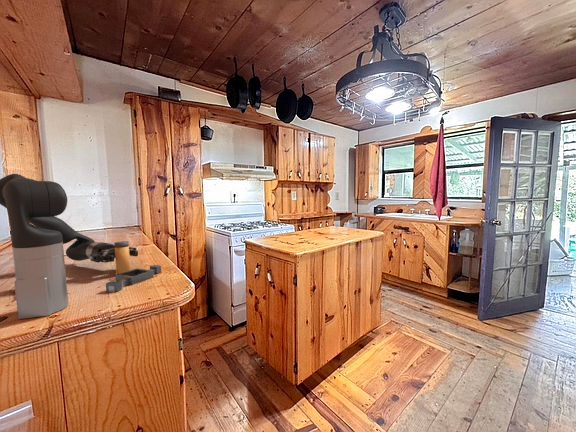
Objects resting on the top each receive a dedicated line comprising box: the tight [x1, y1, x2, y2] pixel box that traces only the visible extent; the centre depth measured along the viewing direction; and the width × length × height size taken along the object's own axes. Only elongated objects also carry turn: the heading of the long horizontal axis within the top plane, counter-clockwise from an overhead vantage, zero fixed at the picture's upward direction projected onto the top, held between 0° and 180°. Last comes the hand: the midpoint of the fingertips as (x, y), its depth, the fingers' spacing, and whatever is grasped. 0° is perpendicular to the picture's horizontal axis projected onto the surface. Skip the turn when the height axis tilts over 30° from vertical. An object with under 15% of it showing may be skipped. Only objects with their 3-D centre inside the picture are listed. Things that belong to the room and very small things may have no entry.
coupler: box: [113, 240, 131, 275], centre depth 96 cm, size 4×4×12 cm
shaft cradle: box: [105, 264, 162, 293], centre depth 88 cm, size 20×10×3 cm, turn 157°
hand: (125, 256), depth 95 cm, fingers open, 8 cm apart
